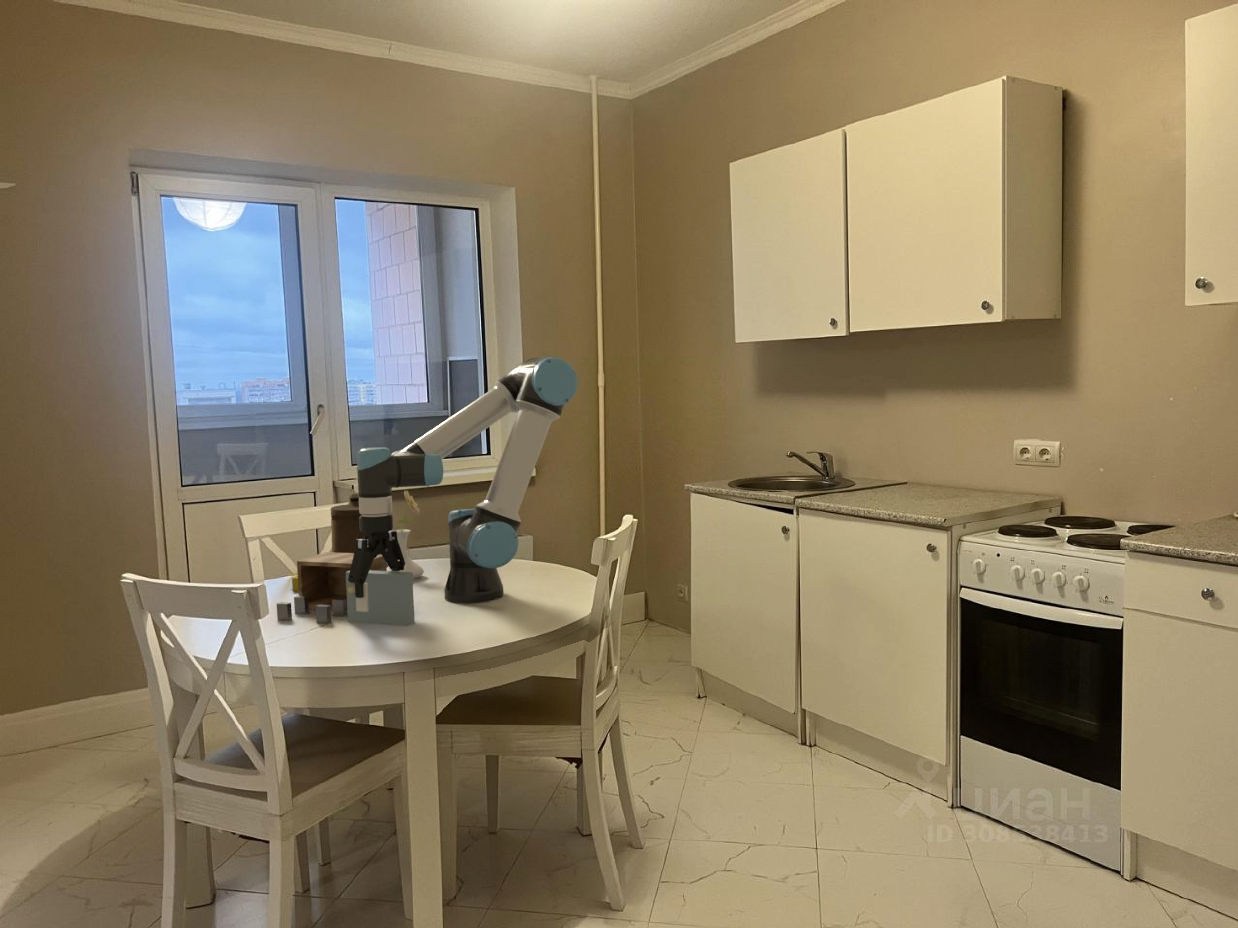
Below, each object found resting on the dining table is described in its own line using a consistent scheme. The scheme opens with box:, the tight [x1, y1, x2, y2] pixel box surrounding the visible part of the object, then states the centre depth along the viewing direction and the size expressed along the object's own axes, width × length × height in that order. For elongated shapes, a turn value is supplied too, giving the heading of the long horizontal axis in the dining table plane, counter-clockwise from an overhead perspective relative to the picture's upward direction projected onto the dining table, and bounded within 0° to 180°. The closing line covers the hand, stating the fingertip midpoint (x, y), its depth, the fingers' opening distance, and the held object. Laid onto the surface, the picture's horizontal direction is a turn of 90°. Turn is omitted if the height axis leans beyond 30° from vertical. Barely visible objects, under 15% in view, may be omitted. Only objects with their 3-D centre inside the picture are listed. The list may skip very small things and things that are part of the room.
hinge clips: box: [276, 595, 348, 624], centre depth 225 cm, size 14×8×4 cm, turn 72°
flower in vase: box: [387, 490, 425, 579], centre depth 266 cm, size 13×11×25 cm
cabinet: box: [296, 551, 388, 612], centre depth 237 cm, size 18×12×12 cm, turn 72°
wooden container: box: [330, 493, 382, 555], centre depth 287 cm, size 15×15×22 cm
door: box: [346, 570, 416, 627], centre depth 219 cm, size 16×4×12 cm, turn 72°
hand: (379, 604), depth 219 cm, fingers open, 13 cm apart
